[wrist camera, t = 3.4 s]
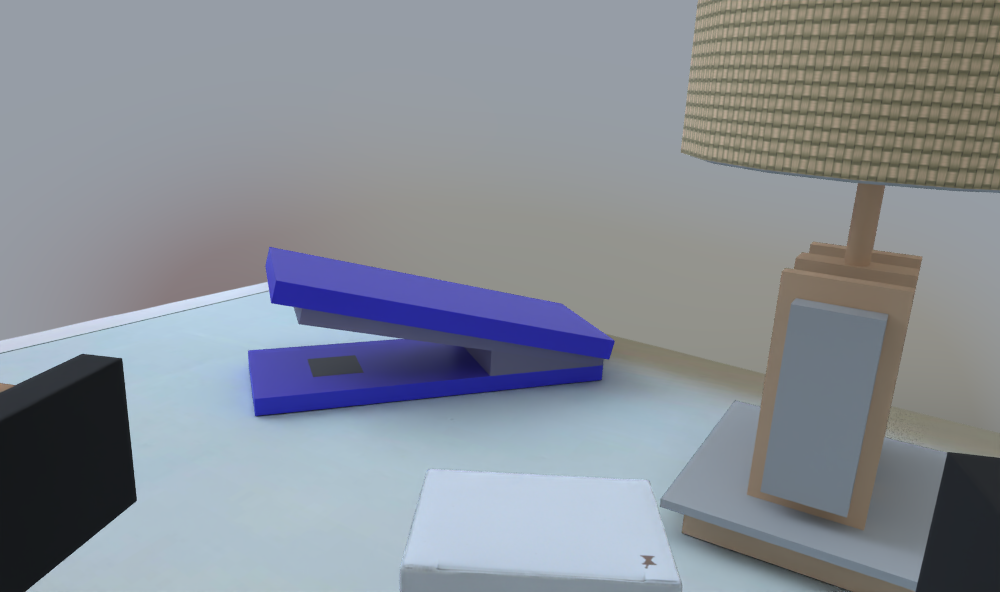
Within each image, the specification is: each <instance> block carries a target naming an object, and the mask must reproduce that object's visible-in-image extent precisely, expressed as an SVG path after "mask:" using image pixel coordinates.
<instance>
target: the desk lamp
mask: <svg viewBox="0 0 1000 592" xmlns="http://www.w3.org/2000/svg"><path fill="white" fill-rule="evenodd" d="M681 153H684V154H688V155H690V156H692V157H695V158H698V159H701V160H704V161H707V162H710V163H714V164H720V165H725V166H731V167H738V168H744V169H749V170H756V171H761V172H767V173H775V174H784V175H792V176H800V177H809V178H817V179H826V180H835V181H843V182H851V183H858V186H857V192H856V197H855V203H854V209H853V214H852V220H851V225H850V231H849V236H848V242H847V246H841V245H834V244H827V243H818V242H812V244H811V245H810V251H809V253H804V252H802V253H801V254H800V255H799V256H798V257H797V258H796V261H795V267H794V269H789V268H785V269H784V270H783V271H782V275H781V281H780V288H779V294H778V300H777V306H776V313H775V319H774V326H773V332H772V338H771V345H770V351H769V357H768V363H767V370H766V376H765V382H764V389H763V395H762V401H761V407H760V406H756V405H752V404H748V403H744V402H740V401H736V400H735V401H734V402H733V403H732V405H731V406H730V407H729V409H728V410H727V411H726V413H725V414H724V415H723V417H722V418H721V419H720V421H719V422H718V423H717V425H716V426H715V427H714V429H713V430H712V431H711V433H710V434H709V435H708V437H707V438H706V439H705V441H704V442H703V443H702V445H701V446H700V447H699V449H698V450H697V451H696V453H695V454H694V455H693V457H692V458H691V459H690V461H689V462H688V463H687V465H686V466H685V467H684V469H683V470H682V471H681V472H680V474H679V475H678V476H677V478H676V479H675V480H674V482H673V483H672V484H671V486H670V487H669V488H668V490H667V491H666V492H665V494H664V495H663V496H662V498H661V501H660V507H663V508H666V509H669V510H672V511H675V512H678V513H681V514H684V520H683V527H682V533H684V534H687V535H690V536H693V537H695V538H698V539H701V540H704V541H707V542H710V543H713V544H716V545H719V546H722V547H724V548H727V549H730V550H733V551H736V552H739V553H742V554H745V555H748V556H751V557H753V558H756V559H759V560H762V561H765V562H768V563H771V564H774V565H777V566H780V567H782V568H785V569H788V570H791V571H794V572H797V573H800V574H803V575H806V576H809V577H811V578H814V579H817V580H820V581H823V582H826V583H829V584H832V585H835V586H838V587H840V588H843V589H846V590H849V591H852V592H916V587H917V583H918V578H919V574H920V570H921V565H922V561H923V557H924V552H925V548H926V544H927V539H928V535H929V531H930V526H931V522H932V518H933V513H934V509H935V505H936V500H937V496H938V492H939V487H940V483H941V478H942V474H943V470H944V465H945V461H946V457H947V453H946V452H942V451H938V450H934V449H930V448H926V447H922V446H918V445H914V444H910V443H906V442H902V441H898V440H894V439H890V438H886V437H885V432H886V427H887V422H888V418H889V413H890V408H891V403H892V399H893V393H894V389H895V384H896V379H897V375H898V370H899V365H900V361H901V356H902V351H903V346H904V341H905V337H906V332H907V327H908V323H909V318H910V312H911V308H912V304H913V299H914V294H915V289H916V285H917V280H918V275H919V271H920V265H921V261H922V257H920V256H914V255H906V254H898V253H891V252H885V251H877V250H873V245H874V241H875V236H876V231H877V225H878V220H879V214H880V209H881V204H882V199H883V194H884V188H885V185H888V186H900V187H912V188H924V189H936V190H949V191H968V192H969V191H970V192H993V193H1000V0H698V5H697V14H696V23H695V32H694V40H693V49H692V58H691V68H690V76H689V85H688V93H687V102H686V111H685V120H684V129H683V138H682V146H681Z"/></svg>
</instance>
